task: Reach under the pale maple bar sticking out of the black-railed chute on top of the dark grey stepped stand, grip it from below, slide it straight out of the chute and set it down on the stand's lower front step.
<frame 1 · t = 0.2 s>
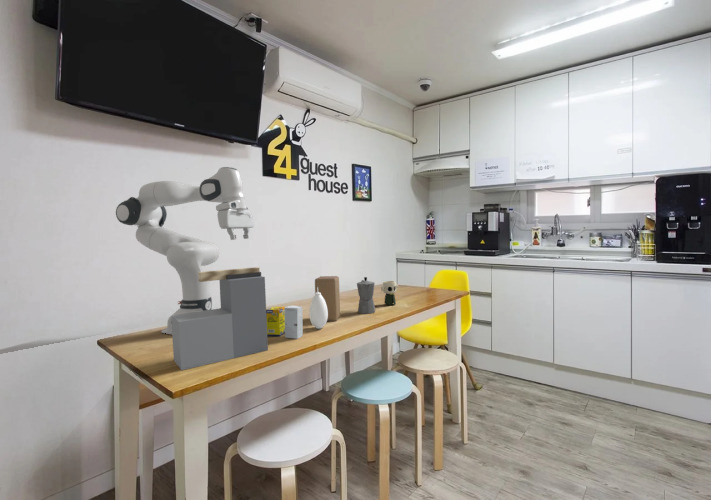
hand: (240, 239, 149), 39 cm above the table, tool pointing down, fingers open, 8 cm apart
coffeepot: (366, 311, 184), on the table
skincare box: (294, 337, 142), on the table
maple bar: (230, 278, 124), point 26 cm above the table, touching stepped stand
sauce bottle: (319, 328, 154), on the table
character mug: (390, 305, 200), on the table
stepped stand: (228, 353, 124), on the table
wooden block: (328, 319, 171), on the table
supplement box: (276, 335, 146), on the table
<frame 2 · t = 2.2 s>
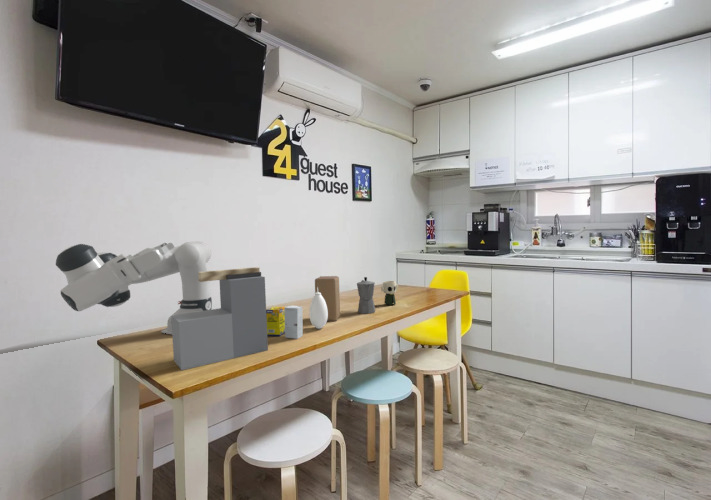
hand: (169, 244, 112), 38 cm above the table, tool pointing upward, fingers open, 8 cm apart
nothing on the table moved.
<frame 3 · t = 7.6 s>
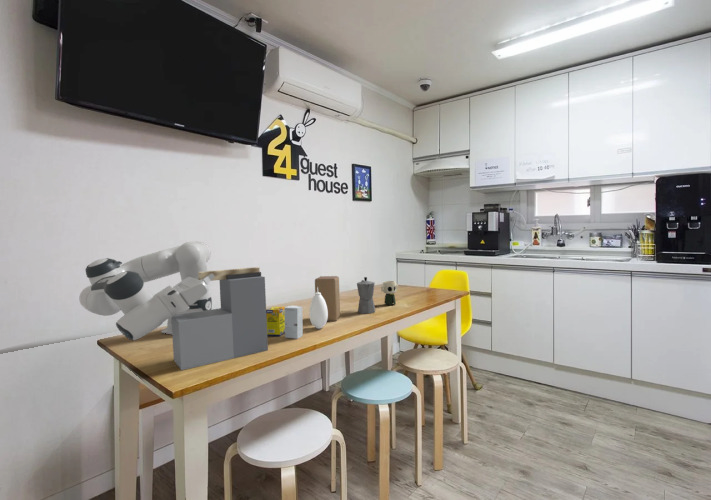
hand: (211, 274, 120), 28 cm above the table, tool pointing upward, fingers closed on maple bar, 3 cm apart
maple bar: (230, 278, 124), point 26 cm above the table, touching gripper
everything else where it was.
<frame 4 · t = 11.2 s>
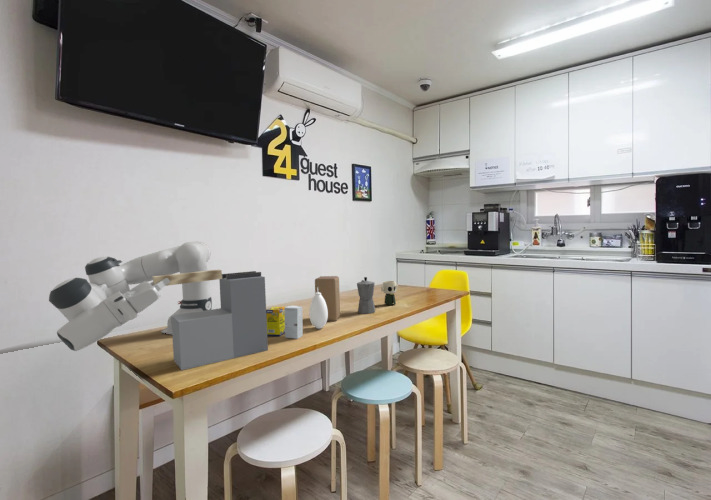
hand: (167, 278, 112), 28 cm above the table, tool pointing upward, fingers closed on maple bar, 3 cm apart
maple bar: (189, 282, 116), point 26 cm above the table, touching gripper
everything else where it was.
when the fingers open (19 cm above the table, at t = 14.8 s): maple bar drops 2 cm, resting on stepped stand.
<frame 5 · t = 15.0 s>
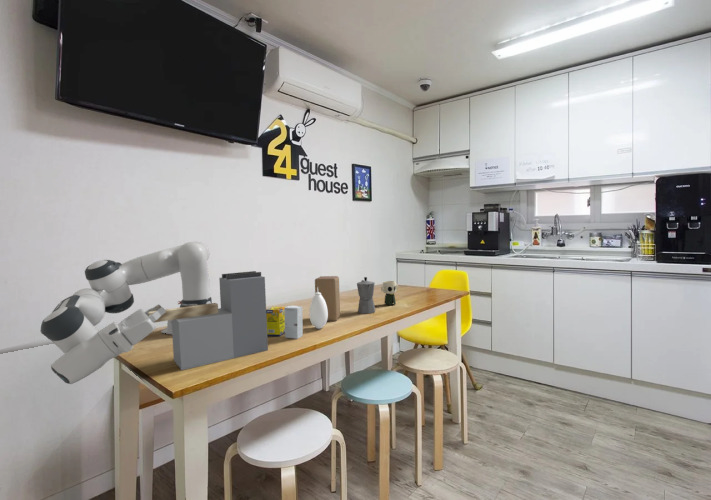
hand: (162, 307, 111), 19 cm above the table, tool pointing upward, fingers open, 5 cm apart
maple bar: (185, 316, 115), point 15 cm above the table, touching stepped stand
everything else where it was.
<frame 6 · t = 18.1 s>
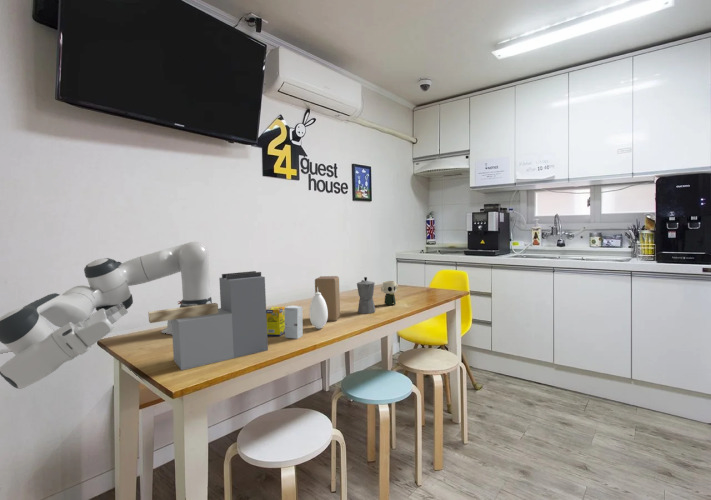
hand: (124, 306, 105), 21 cm above the table, tool pointing upward, fingers open, 8 cm apart
nothing on the table moved.
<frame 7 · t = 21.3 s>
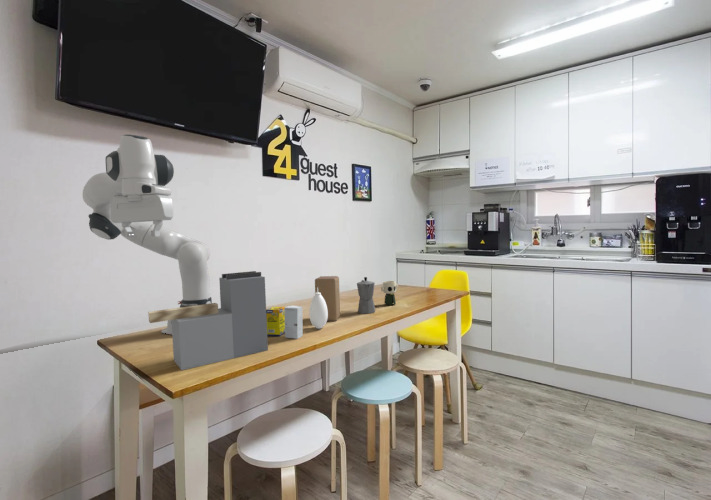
hand: (142, 237, 106), 41 cm above the table, tool pointing down, fingers open, 8 cm apart
nothing on the table moved.
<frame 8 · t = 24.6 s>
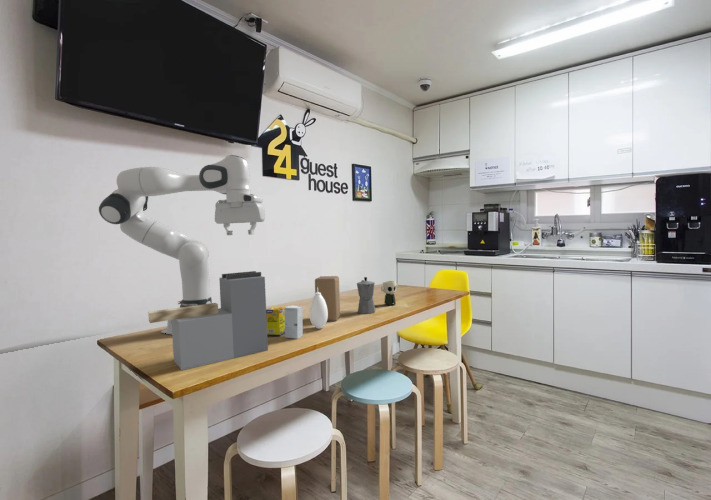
hand: (240, 234, 137), 41 cm above the table, tool pointing down, fingers open, 8 cm apart
nothing on the table moved.
at the end: maple bar inside the target area on the stepped stand (0.5 cm from its centre), point 15.0 cm above the stepped stand's base; maple bar tilted 0°; the gripper is holding nothing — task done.
